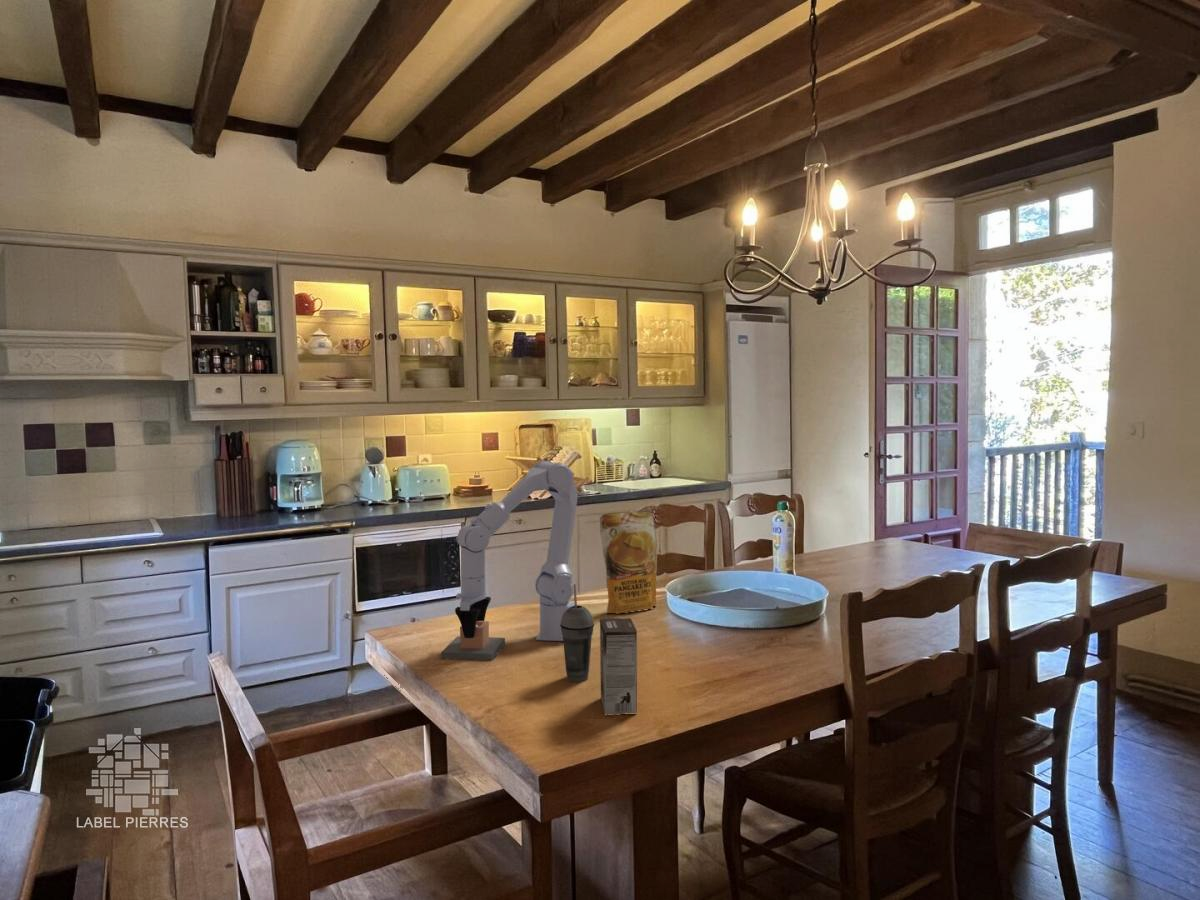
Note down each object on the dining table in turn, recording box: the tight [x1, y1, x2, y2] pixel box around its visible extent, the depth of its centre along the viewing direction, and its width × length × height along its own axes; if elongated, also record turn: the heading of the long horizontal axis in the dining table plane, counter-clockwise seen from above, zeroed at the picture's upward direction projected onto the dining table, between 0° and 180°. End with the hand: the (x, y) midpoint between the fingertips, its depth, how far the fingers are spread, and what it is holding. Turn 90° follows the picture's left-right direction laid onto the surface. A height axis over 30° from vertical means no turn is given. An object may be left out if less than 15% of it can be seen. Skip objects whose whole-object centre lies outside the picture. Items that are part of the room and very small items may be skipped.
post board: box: [441, 625, 506, 661], centre depth 179 cm, size 12×12×6 cm
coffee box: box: [599, 617, 638, 715], centre depth 146 cm, size 9×6×16 cm
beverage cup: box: [560, 583, 595, 683], centre depth 161 cm, size 7×7×20 cm
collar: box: [459, 620, 490, 649], centre depth 179 cm, size 5×5×5 cm
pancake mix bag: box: [599, 510, 658, 615], centre depth 214 cm, size 7×19×28 cm, turn 117°
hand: (473, 632), depth 179 cm, fingers open, 7 cm apart
